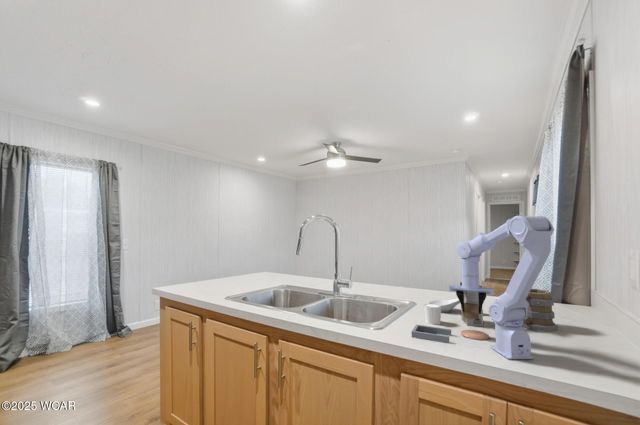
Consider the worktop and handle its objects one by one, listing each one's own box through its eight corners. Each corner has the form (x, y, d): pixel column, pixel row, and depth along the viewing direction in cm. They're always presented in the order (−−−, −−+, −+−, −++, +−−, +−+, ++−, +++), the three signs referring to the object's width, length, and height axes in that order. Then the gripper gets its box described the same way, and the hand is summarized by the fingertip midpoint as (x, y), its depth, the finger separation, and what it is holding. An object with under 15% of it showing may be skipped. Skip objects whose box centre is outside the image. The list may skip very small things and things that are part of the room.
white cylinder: (423, 323, 122) (422, 306, 122) (425, 319, 128) (425, 302, 128) (440, 325, 119) (440, 308, 119) (442, 321, 125) (442, 304, 125)
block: (478, 316, 108) (478, 303, 108) (478, 319, 104) (478, 306, 104) (465, 314, 110) (464, 302, 110) (464, 317, 106) (464, 305, 106)
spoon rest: (427, 312, 140) (426, 297, 140) (429, 306, 150) (429, 292, 151) (484, 318, 129) (483, 301, 130) (482, 311, 140) (481, 296, 140)
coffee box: (460, 319, 128) (459, 281, 129) (476, 319, 126) (475, 282, 127) (466, 325, 119) (465, 285, 120) (484, 326, 117) (482, 286, 118)
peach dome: (494, 339, 103) (494, 338, 103) (468, 340, 103) (468, 338, 103) (480, 331, 112) (479, 329, 112) (456, 331, 112) (456, 329, 112)
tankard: (531, 319, 126) (529, 284, 127) (564, 328, 114) (561, 289, 115) (497, 325, 119) (495, 287, 120) (528, 335, 107) (526, 293, 108)
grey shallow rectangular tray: (451, 334, 108) (451, 329, 108) (449, 343, 100) (448, 337, 101) (416, 329, 114) (416, 324, 114) (411, 337, 106) (411, 331, 106)
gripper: (492, 274, 108) (493, 312, 108) (449, 272, 115) (450, 307, 114) (493, 277, 102) (495, 317, 101) (448, 275, 109) (449, 312, 108)
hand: (471, 312), depth 107 cm, fingers closed on block, 4 cm apart
